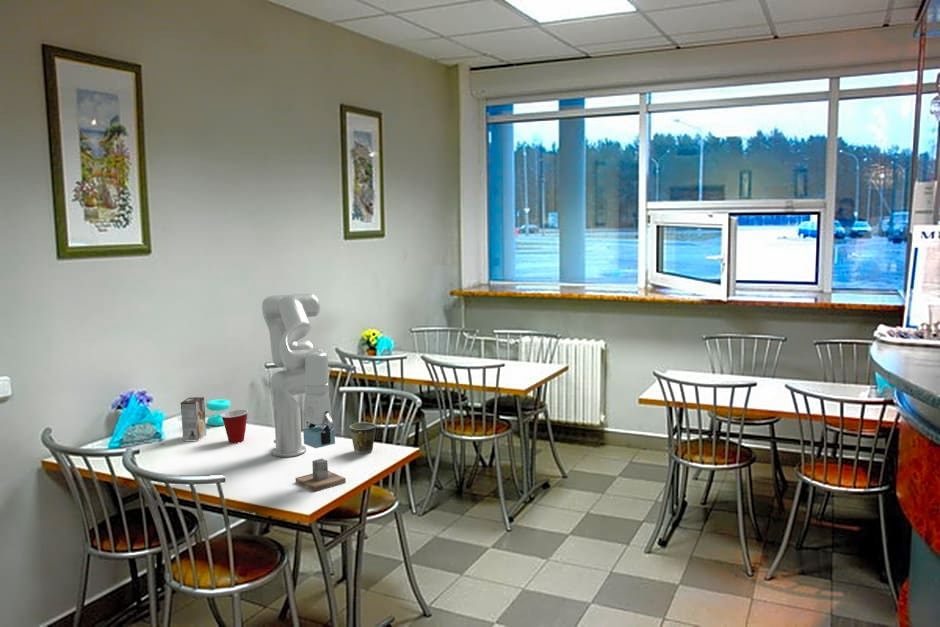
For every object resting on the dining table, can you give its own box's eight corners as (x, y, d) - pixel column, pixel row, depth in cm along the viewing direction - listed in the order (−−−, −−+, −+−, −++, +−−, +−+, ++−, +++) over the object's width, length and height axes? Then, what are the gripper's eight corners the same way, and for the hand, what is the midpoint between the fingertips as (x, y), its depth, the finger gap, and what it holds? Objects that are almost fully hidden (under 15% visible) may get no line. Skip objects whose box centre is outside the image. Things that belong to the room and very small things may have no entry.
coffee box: (191, 435, 309) (189, 396, 307) (206, 434, 309) (204, 396, 307) (182, 441, 300) (180, 402, 298) (198, 441, 300) (196, 402, 298)
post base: (295, 482, 252) (294, 460, 251) (326, 473, 260) (325, 453, 259) (314, 491, 244) (313, 469, 243) (345, 482, 252) (345, 460, 251)
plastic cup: (227, 437, 306) (225, 408, 304) (253, 437, 305) (252, 408, 304) (217, 445, 295) (215, 415, 293) (244, 445, 294) (243, 415, 293)
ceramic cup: (353, 447, 291) (352, 422, 289) (378, 447, 290) (378, 422, 289) (346, 458, 278) (345, 431, 276) (373, 458, 277) (372, 431, 276)
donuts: (201, 403, 321) (212, 398, 331) (203, 426, 322) (213, 420, 332) (223, 404, 320) (234, 398, 329) (225, 427, 321) (235, 420, 331)
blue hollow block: (303, 443, 250) (303, 429, 250) (323, 439, 255) (322, 425, 255) (315, 448, 245) (315, 433, 244) (335, 443, 250) (334, 429, 249)
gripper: (293, 387, 252) (296, 438, 254) (321, 395, 239) (323, 449, 241) (313, 383, 257) (315, 434, 259) (341, 391, 244) (343, 444, 246)
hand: (319, 441), depth 250 cm, fingers closed on blue hollow block, 7 cm apart
